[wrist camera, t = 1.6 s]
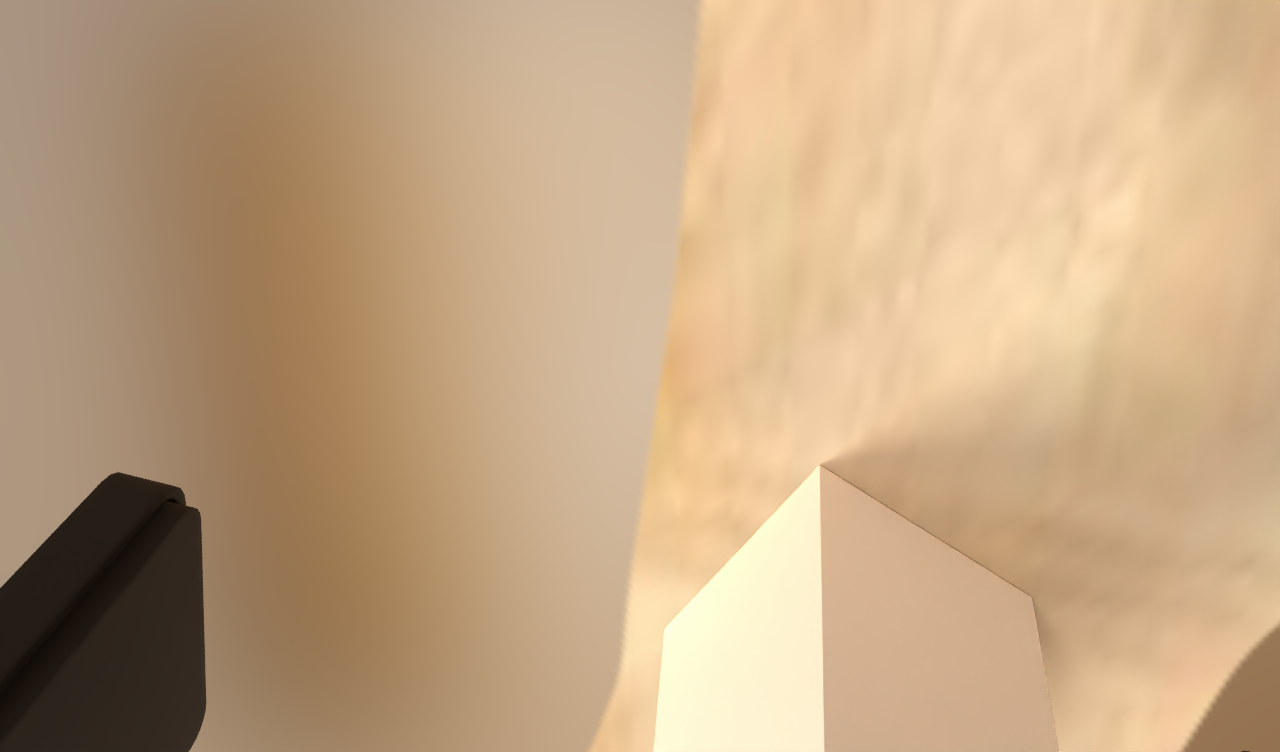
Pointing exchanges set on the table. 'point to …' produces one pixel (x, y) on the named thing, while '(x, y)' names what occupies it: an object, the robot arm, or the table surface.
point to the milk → (852, 642)
